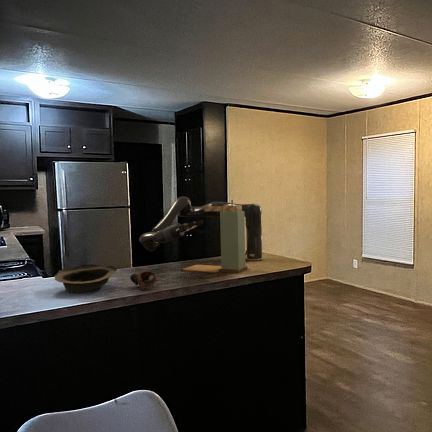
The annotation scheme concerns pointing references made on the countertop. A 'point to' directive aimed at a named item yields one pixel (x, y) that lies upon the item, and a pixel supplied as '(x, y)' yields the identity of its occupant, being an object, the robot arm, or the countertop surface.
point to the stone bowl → (84, 277)
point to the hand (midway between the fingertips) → (198, 222)
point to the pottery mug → (143, 279)
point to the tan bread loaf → (225, 208)
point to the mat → (203, 268)
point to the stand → (232, 242)
